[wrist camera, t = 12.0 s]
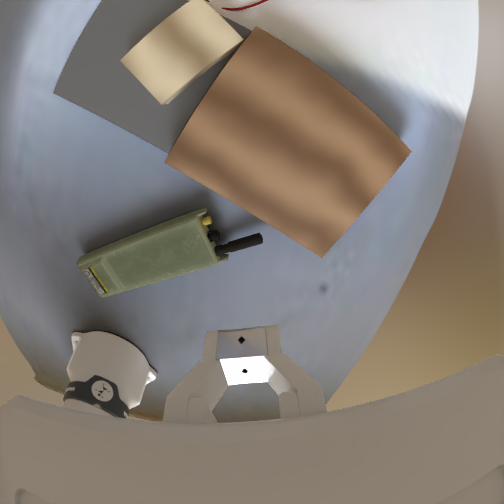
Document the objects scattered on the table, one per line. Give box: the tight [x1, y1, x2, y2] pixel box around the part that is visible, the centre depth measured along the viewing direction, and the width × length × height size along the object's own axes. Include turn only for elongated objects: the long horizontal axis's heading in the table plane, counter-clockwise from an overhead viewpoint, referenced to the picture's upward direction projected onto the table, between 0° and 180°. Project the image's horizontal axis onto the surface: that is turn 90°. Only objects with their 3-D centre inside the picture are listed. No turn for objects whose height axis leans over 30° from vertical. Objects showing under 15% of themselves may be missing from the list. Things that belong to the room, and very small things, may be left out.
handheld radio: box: [77, 207, 263, 298], centre depth 33 cm, size 7×3×25 cm
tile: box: [120, 0, 244, 105], centre depth 21 cm, size 10×7×2 cm
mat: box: [53, 0, 251, 154], centre depth 22 cm, size 16×18×1 cm
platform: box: [164, 27, 412, 258], centre depth 27 cm, size 16×20×4 cm
